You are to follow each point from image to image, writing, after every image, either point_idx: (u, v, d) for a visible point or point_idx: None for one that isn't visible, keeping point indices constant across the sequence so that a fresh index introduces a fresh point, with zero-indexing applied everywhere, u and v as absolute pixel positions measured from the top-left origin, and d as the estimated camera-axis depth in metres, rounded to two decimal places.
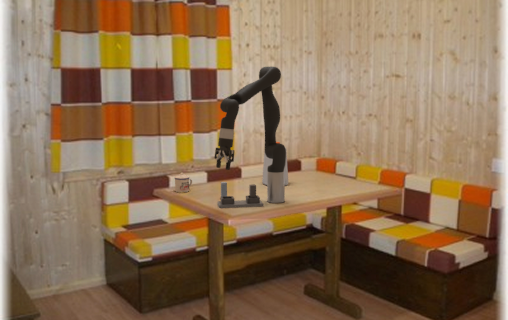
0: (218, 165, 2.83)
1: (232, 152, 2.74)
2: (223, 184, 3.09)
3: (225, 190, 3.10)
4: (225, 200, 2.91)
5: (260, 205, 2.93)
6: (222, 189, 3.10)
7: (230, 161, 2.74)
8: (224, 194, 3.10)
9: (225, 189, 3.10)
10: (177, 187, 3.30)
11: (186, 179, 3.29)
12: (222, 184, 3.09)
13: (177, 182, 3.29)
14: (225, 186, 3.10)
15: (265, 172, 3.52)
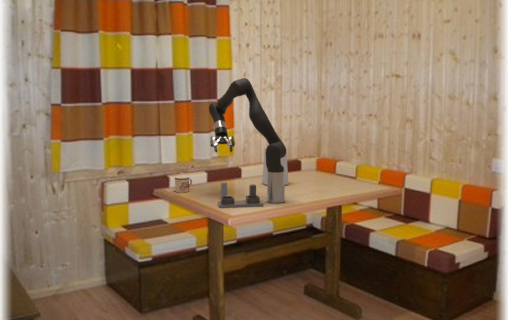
0: (230, 150, 3.18)
1: (210, 139, 3.19)
2: (223, 184, 3.09)
3: (225, 190, 3.10)
4: (225, 200, 2.91)
5: (260, 205, 2.93)
6: (222, 189, 3.10)
7: (211, 146, 3.17)
8: (224, 194, 3.10)
9: (225, 189, 3.10)
10: (177, 187, 3.30)
11: (186, 179, 3.29)
12: (222, 184, 3.09)
13: (177, 182, 3.29)
14: (225, 186, 3.10)
15: (265, 172, 3.52)
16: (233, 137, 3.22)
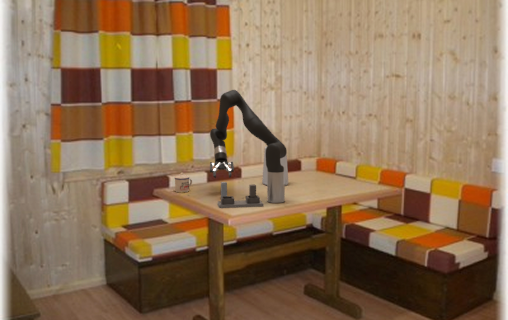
0: (229, 175, 3.20)
1: (210, 164, 3.22)
2: (223, 184, 3.09)
3: (225, 190, 3.10)
4: (225, 200, 2.91)
5: (260, 205, 2.93)
6: (222, 189, 3.10)
7: (210, 171, 3.20)
8: (224, 194, 3.10)
9: (225, 189, 3.10)
10: (177, 187, 3.30)
11: (186, 179, 3.29)
12: (222, 184, 3.09)
13: (177, 182, 3.29)
14: (225, 186, 3.10)
15: (265, 172, 3.52)
16: (232, 162, 3.24)
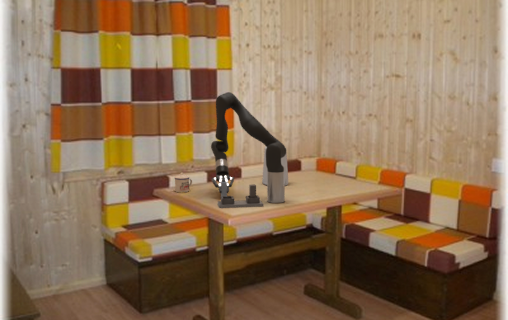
0: None
1: (212, 180, 3.14)
2: (223, 184, 3.09)
3: (225, 190, 3.10)
4: (225, 200, 2.91)
5: (260, 205, 2.93)
6: (222, 189, 3.10)
7: (216, 186, 3.12)
8: (224, 194, 3.10)
9: (225, 189, 3.10)
10: (177, 187, 3.30)
11: (186, 179, 3.29)
12: (222, 184, 3.09)
13: (177, 182, 3.29)
14: (225, 186, 3.10)
15: (265, 172, 3.52)
16: None
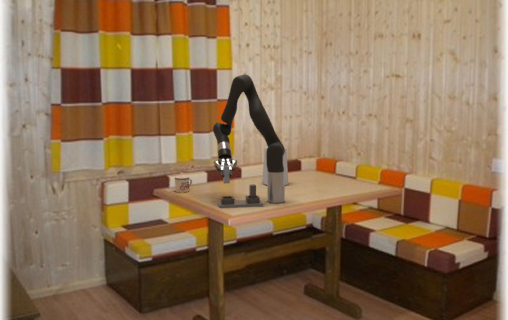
0: (229, 174, 2.97)
1: (214, 164, 3.00)
2: (225, 167, 2.95)
3: (228, 174, 2.96)
4: (225, 200, 2.91)
5: (260, 205, 2.93)
6: (224, 173, 2.96)
7: (218, 170, 2.98)
8: (227, 178, 2.96)
9: (228, 173, 2.96)
10: (177, 187, 3.30)
11: (186, 179, 3.29)
12: (224, 167, 2.95)
13: (177, 182, 3.29)
14: (227, 170, 2.96)
15: (265, 172, 3.52)
16: None
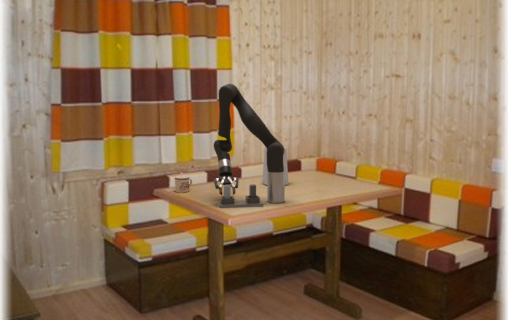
0: None
1: (214, 180, 2.97)
2: (226, 187, 2.92)
3: (229, 194, 2.92)
4: (225, 200, 2.91)
5: (260, 205, 2.93)
6: (225, 193, 2.92)
7: (216, 188, 2.94)
8: (227, 198, 2.93)
9: (228, 193, 2.92)
10: (177, 187, 3.30)
11: (186, 179, 3.29)
12: (225, 187, 2.92)
13: (177, 182, 3.29)
14: (228, 190, 2.92)
15: (265, 172, 3.52)
16: (238, 178, 2.98)
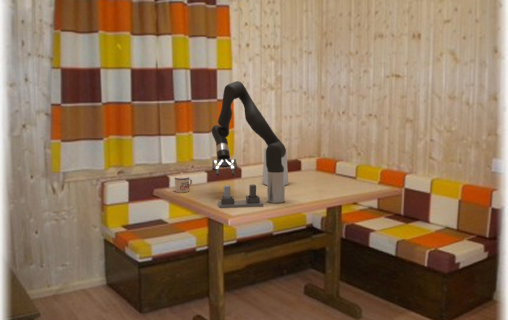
0: (232, 173, 3.10)
1: (212, 162, 3.12)
2: (226, 187, 2.92)
3: (229, 194, 2.92)
4: (225, 200, 2.91)
5: (260, 205, 2.93)
6: (225, 193, 2.92)
7: (213, 169, 3.10)
8: (227, 198, 2.93)
9: (228, 193, 2.92)
10: (177, 187, 3.30)
11: (186, 179, 3.29)
12: (225, 187, 2.92)
13: (177, 182, 3.29)
14: (228, 190, 2.92)
15: (265, 172, 3.52)
16: (235, 160, 3.14)
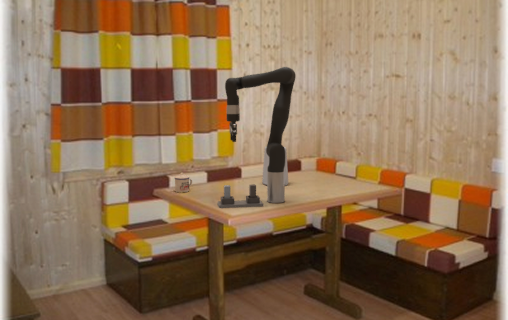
0: (232, 138, 3.15)
1: (234, 126, 3.04)
2: (226, 187, 2.92)
3: (229, 194, 2.92)
4: (225, 200, 2.91)
5: (260, 205, 2.93)
6: (225, 193, 2.92)
7: (233, 134, 3.04)
8: (227, 198, 2.93)
9: (228, 193, 2.92)
10: (177, 187, 3.30)
11: (186, 179, 3.29)
12: (225, 187, 2.92)
13: (177, 182, 3.29)
14: (228, 190, 2.92)
15: (265, 172, 3.52)
16: None
